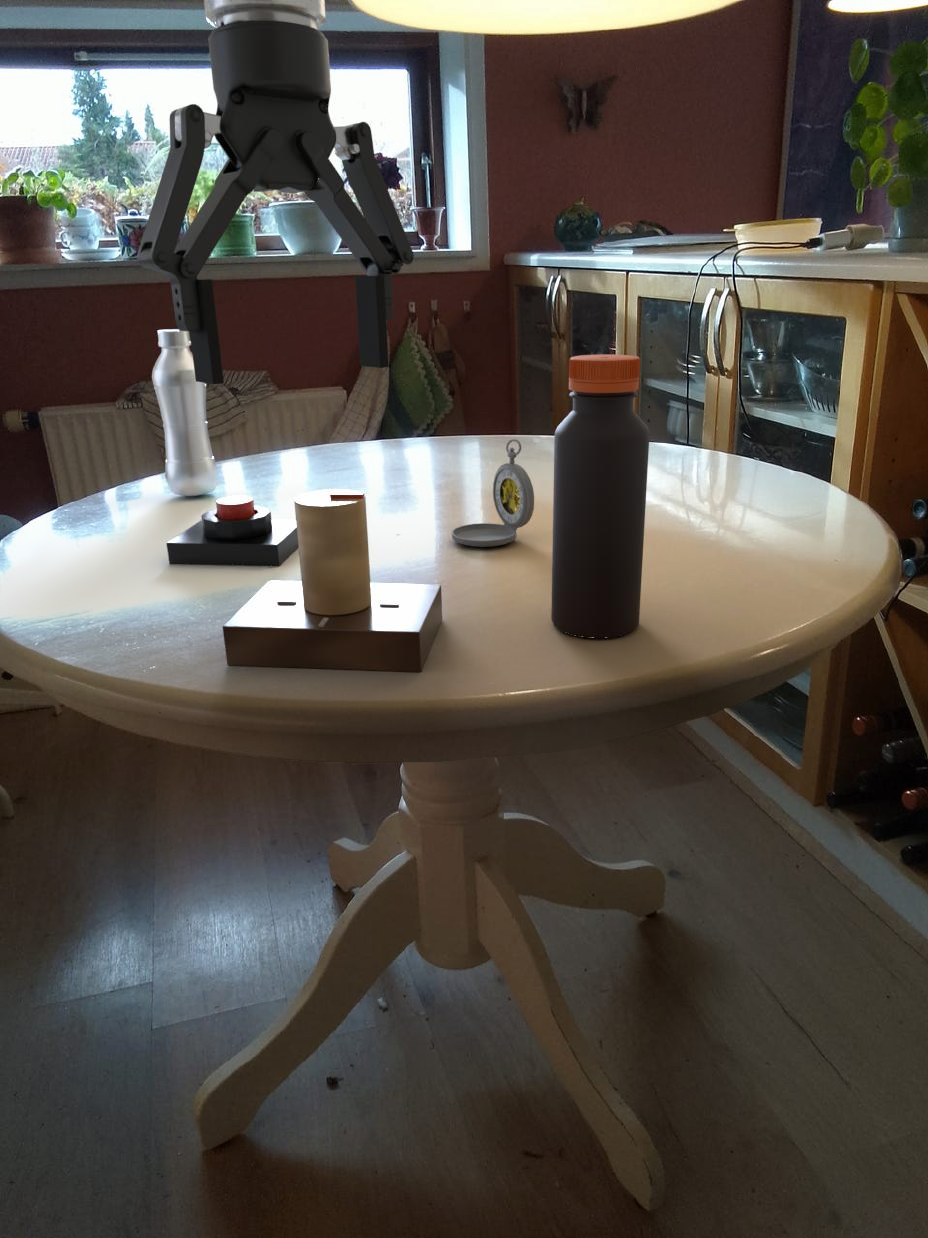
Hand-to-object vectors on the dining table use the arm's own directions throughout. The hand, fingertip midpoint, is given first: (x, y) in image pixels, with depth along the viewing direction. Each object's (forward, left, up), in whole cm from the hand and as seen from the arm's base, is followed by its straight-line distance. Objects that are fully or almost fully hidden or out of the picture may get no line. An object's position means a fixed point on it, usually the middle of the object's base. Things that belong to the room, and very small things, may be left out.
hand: (297, 374), depth 64 cm
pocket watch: (+12, +24, -19) cm, 33 cm away
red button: (-13, +18, -15) cm, 27 cm away
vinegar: (+22, +1, -19) cm, 29 cm away
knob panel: (+3, -4, -19) cm, 20 cm away
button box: (-13, +18, -19) cm, 29 cm away
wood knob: (+3, -4, -16) cm, 17 cm away
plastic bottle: (-28, +42, -19) cm, 54 cm away
